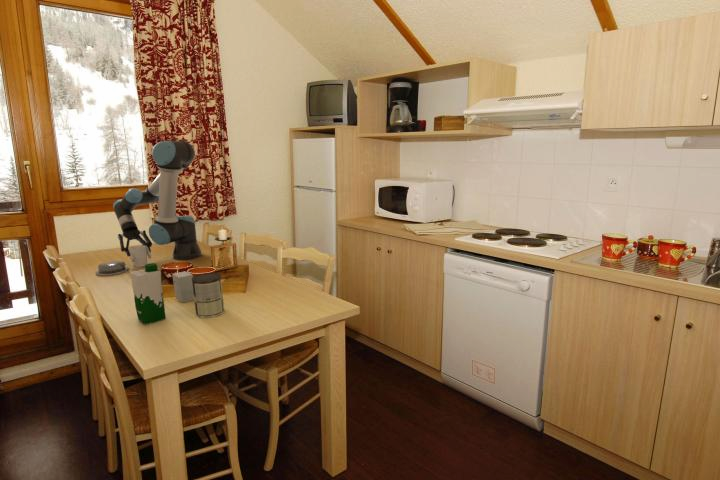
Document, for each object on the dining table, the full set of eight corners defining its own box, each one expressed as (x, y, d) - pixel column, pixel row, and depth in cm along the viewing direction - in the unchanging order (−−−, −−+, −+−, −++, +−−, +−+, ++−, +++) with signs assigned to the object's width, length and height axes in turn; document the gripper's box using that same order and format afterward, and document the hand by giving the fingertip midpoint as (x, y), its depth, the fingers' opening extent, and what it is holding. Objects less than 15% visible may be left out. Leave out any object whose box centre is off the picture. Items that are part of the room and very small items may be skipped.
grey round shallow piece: (133, 266, 237) (132, 259, 236) (121, 275, 222) (120, 267, 222) (104, 268, 236) (102, 261, 235) (89, 276, 221) (88, 268, 220)
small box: (196, 299, 183) (193, 274, 181) (182, 303, 180) (179, 277, 177) (188, 295, 189) (185, 270, 187) (175, 298, 186) (172, 273, 183)
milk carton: (169, 318, 164) (162, 265, 159) (143, 326, 157) (135, 271, 153) (159, 313, 170) (152, 261, 165) (134, 320, 164) (126, 266, 159)
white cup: (151, 263, 243) (149, 245, 241) (143, 267, 236) (140, 248, 233) (137, 263, 244) (135, 245, 242) (129, 267, 236) (126, 248, 234)
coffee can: (190, 314, 167) (185, 277, 164) (214, 306, 175) (210, 271, 172) (205, 320, 161) (201, 282, 158) (230, 311, 169) (226, 275, 166)
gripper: (147, 226, 254) (160, 259, 246) (106, 232, 241) (119, 266, 232) (149, 218, 249) (163, 251, 241) (107, 223, 236) (120, 258, 227)
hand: (141, 258), depth 236 cm, fingers closed on white cup, 8 cm apart
